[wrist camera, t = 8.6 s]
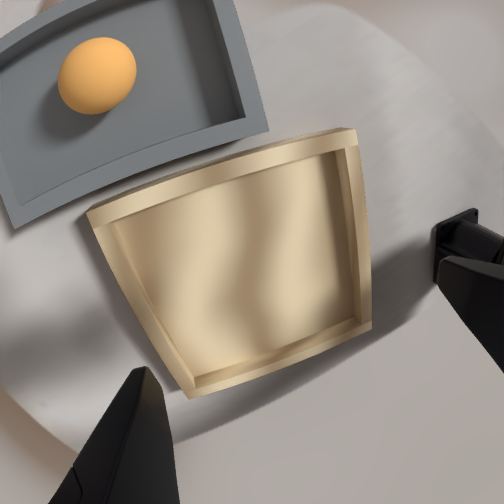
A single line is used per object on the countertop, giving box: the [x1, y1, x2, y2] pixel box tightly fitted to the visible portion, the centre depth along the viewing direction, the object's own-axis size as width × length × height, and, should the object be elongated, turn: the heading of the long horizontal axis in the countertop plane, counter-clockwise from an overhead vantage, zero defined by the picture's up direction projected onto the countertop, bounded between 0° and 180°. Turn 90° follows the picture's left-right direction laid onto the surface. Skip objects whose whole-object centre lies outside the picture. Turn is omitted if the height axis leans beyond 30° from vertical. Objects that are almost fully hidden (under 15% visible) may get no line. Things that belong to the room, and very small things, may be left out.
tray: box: [0, 0, 269, 229], centre depth 12 cm, size 15×11×2 cm
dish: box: [86, 128, 372, 399], centre depth 20 cm, size 16×16×2 cm
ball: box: [58, 37, 136, 114], centre depth 11 cm, size 4×4×4 cm
